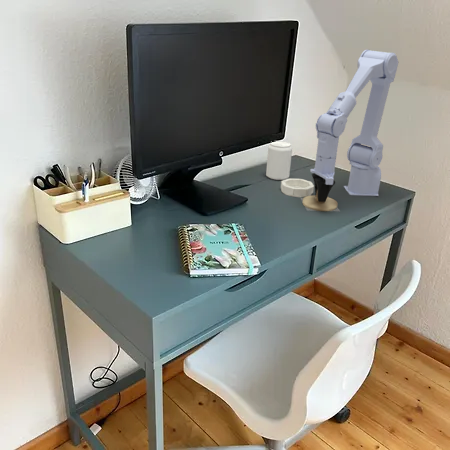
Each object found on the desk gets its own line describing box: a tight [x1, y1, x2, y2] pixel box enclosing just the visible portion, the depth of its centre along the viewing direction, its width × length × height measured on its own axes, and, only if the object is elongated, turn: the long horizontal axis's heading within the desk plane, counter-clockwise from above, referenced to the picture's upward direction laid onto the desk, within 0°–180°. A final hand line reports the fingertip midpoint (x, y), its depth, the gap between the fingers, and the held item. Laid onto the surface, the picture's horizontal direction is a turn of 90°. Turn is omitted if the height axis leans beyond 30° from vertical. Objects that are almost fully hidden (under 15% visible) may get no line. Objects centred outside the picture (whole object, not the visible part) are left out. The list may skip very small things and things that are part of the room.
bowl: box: [280, 177, 315, 198], centre depth 160 cm, size 10×10×3 cm
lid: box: [301, 189, 339, 212], centre depth 150 cm, size 10×10×4 cm
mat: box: [299, 197, 341, 212], centre depth 151 cm, size 10×10×1 cm
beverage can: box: [265, 140, 293, 181], centre depth 171 cm, size 8×8×12 cm
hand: (320, 199), depth 150 cm, fingers closed on lid, 3 cm apart
